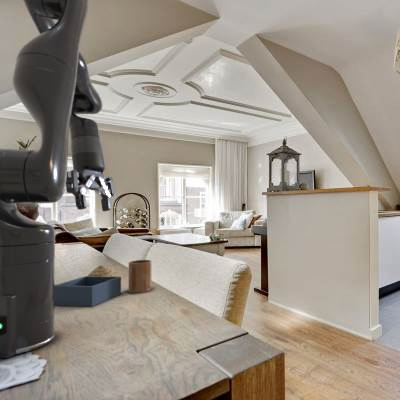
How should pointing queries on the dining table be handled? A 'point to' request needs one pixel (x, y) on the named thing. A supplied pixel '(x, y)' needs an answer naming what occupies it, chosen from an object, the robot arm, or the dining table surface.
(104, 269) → the seashell
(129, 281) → the brown cup
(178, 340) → the dining table surface
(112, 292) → the bin
